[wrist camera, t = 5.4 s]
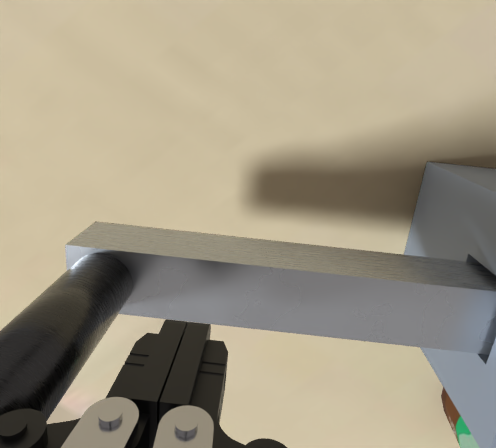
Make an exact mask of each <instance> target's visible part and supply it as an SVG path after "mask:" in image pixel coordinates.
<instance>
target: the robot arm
mask: <svg viewBox="0 0 496 448" xmlns="http://www.w3.org/2000/svg"><path fill="white" fill-rule="evenodd" d="M210 330H211V325H210V324H203V323H194V322H185V321H176V320H167V319H166V320H165V322H164V324H163V326H162V328H161V330H160V332H159V334H153V333H147V334H145V335H144V336H143V337H142V338H140V339H139V340H138V341H136V343H135V345H134V347H133V348H132V350H131V352H130V355H129V356H128V358H127V360H126V361H125V365H123V367H122V369H121V371H120V372H119V374H118V376H117V378H116V380H115V382H114V384H113V385H112V387H111V389H110V391H109V393H108V395H107V396H106V398H105V399H103V400H100V401H98V402H96V403H94V404H93V405H92V406H90V407H89V408H88V409H87V410H86V412H85V413H84V414H83V416H82V417H81V418H79V419H76V420H72V421H66V422H60V423H53V424H47V423H46V418H45V416H44V415H43V414H42V413H41V412H39V411H37V410H34V409H18V410H13V411H10V412H7V413H5V414H3V415H1V416H0V448H287V447H286V446H284V445H283V444H282V443H280V442H278V441H275V440H272V439H256V440H253V441H251V442H249V443H248V444H246V445H244V444H241V443H239V442H237V441H235V440H233V439H231V438H230V437H229V436H227V435H226V434H225V433H224V431H223V430H222V429H221V427H220V425H219V422H220V416H221V410H222V403H223V397H224V391H225V381H226V370H227V359H228V351H227V349H226V346H225V344H224V342H223V341H215V340H210Z"/></svg>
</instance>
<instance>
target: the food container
mask: <svg viewBox="0 0 496 448" xmlns="http://www.w3.org/2000/svg"><path fill="white" fill-rule="evenodd" d="M441 398H442V403H443V408H444V412H445V414H446V416H447V418H448V421H449V423H450V425H451V427H452V429H453V432H454V434H455V436H456V438H457V441H458V443H459V445H460V447H461V448H480V447H479V446H478V444H477V442H476V441H475V439H474V437H473V436H472V434H471V432H470V431H469V429H468V427H467V426H466V424H465V422H464V420H463V419H462V417H461V415H460V414H459V412H458V410H457V409H456V407H455V405H454V404H453V402H452V400H451V399H450V397H449V395H448V393H447V392H446V390H445V388H444V387H443V390H442V395H441Z"/></svg>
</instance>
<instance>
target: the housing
mask: <svg viewBox="0 0 496 448" xmlns="http://www.w3.org/2000/svg"><path fill="white" fill-rule="evenodd" d="M404 255H411V256H421V257H430V258H439V259H448V260H458V261H467V262H476V263H481V264H482V265H483V266H484V267H486V268H487V269H488V270H489V271H491V272H492V273H493V274H494V275H495V276H496V169H492V168H483V167H473V166H464V165H454V164H445V163H435V162H427V164H426V168H425V172H424V176H423V180H422V184H421V188H420V192H419V196H418V200H417V204H416V208H415V212H414V216H413V220H412V224H411V228H410V232H409V236H408V240H407V244H406V248H405V252H404ZM420 348H421V350H422V351H423V353H424V355H425V356H426V358H427V360H428V361H429V363H430V365H431V366H432V368H433V370H434V372H435V373H436V375H437V377H438V378H439V380H440V382H441V383H442V385H443V387H444V388H445V390H446V392H447V393H448V395H449V397H450V399H451V400H452V402H453V404H454V405H455V407H456V409H457V410H458V412H459V414H460V415H461V417H462V419H463V420H464V422H465V424H466V426H467V427H468V429H469V431H470V432H471V434H472V436H473V437H474V439H475V441H476V442H477V444H478V446H479V447H480V448H496V338H495V341H494V344H493V347H492V349H491V352H490V355H486V354H477V353H468V352H459V351H450V350H441V349H432V348H423V347H420Z"/></svg>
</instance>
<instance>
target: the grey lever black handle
mask: <svg viewBox="0 0 496 448" xmlns="http://www.w3.org/2000/svg"><path fill="white" fill-rule="evenodd" d="M65 248H66V264H67V271H66V272H65V273H64V274H63V275H62V276H61V277H60V278H59V279H57V280H56V281H55V282H54V283H53V284H52V285H51V286H50V287H49V288H47V289H46V290H45V291H44V292H43V293H42V294H41V295H40V296H39V297H38V298H36V299H35V300H34V301H33V302H32V303H31V304H30V305H29V306H28V307H26V308H25V309H24V310H23V311H22V312H21V313H20V314H19V315H18V316H16V317H15V318H14V319H13V320H12V321H11V322H10V323H9V324H8V325H6V326H5V327H4V328H3V329H2V330H1V331H0V416H1V415H3V414H5V413H7V412H10V411H13V410H18V409H34V410H37V411H39V412H41V413H42V414H43V415H44V416H45V418H46V421H47V420H48V418H49V417H50V415H51V414H52V412H53V411H54V409H55V408H56V406H57V405H58V403H59V402H60V400H61V399H62V397H63V396H64V394H65V393H66V391H67V390H68V388H69V387H70V385H71V384H72V382H73V381H74V379H75V378H76V376H77V375H78V373H79V372H80V370H81V369H82V367H83V366H84V364H85V363H86V361H87V360H88V358H89V357H90V355H91V354H92V352H93V351H94V349H95V348H96V346H97V345H98V343H99V342H100V340H101V339H102V337H103V336H104V334H105V333H106V331H107V330H108V328H109V327H110V325H111V324H112V322H113V321H114V319H115V318H116V316H117V315H118V314H125V315H134V316H144V317H153V318H162V319H171V320H180V321H189V322H198V323H207V324H216V325H225V326H234V327H243V328H252V329H261V330H270V331H279V332H288V333H297V334H306V335H315V336H324V337H333V338H342V339H351V340H360V341H369V342H378V343H387V344H396V345H405V346H414V347H423V348H432V349H441V350H450V351H459V352H468V353H477V354H486V355H490V352H491V349H492V347H493V344H494V341H495V338H496V276H495V275H494V274H493V273H492V272H491V271H489V270H488V269H487V268H486V267H484V266H483V265H482V264H481V263H476V262H467V261H458V260H448V259H439V258H430V257H421V256H411V255H402V254H393V253H383V252H374V251H365V250H356V249H346V248H337V247H328V246H319V245H309V244H300V243H291V242H281V241H272V240H263V239H254V238H244V237H235V236H226V235H216V234H207V233H198V232H189V231H179V230H170V229H161V228H152V227H142V226H133V225H124V224H114V223H105V222H94V223H93V224H92V225H91V226H89V227H88V228H87V229H85V230H84V231H83V232H81V233H80V234H79V235H78V236H76V237H75V238H74V239H72V240H71V241H70V242H68V243H67V244H66V245H65Z"/></svg>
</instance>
